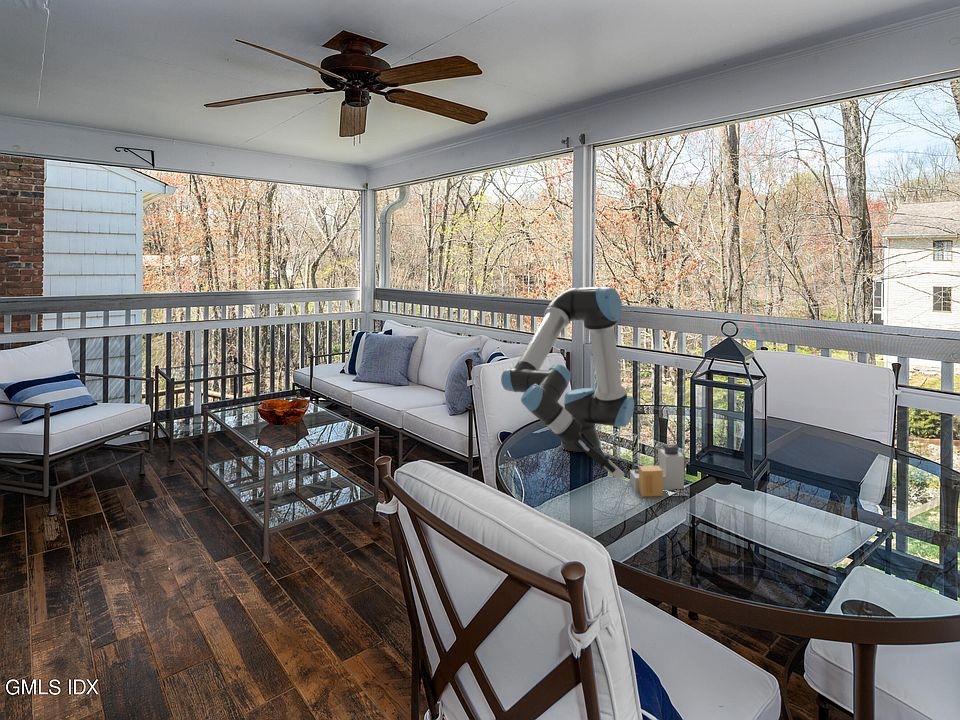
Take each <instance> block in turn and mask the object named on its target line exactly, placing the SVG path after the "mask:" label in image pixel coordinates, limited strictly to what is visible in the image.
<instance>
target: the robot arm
mask: <svg viewBox="0 0 960 720" xmlns="http://www.w3.org/2000/svg"><path fill="white" fill-rule="evenodd" d="M622 310H623V303H622V300H621V295H620V294H619V292H618V291H617V290H616V289H615V288H613V287H610V286H589V287H588V286H587V287H572V288H569V289H566V290H564V291H562V292H561V293H560V294H558V295H557V296H556V297H554V299H552V301H551V302H550V303H548V305H547V307H546V308H545V309H544V312H543V319H542V321H541V322H540V324H539V326H538V327H537V329H536V331H535V333H534V334H533V336H532V338H531V339H530V341H529V343H528V344H527V346H526V348H525V350H524V351H523V353H522V354H521V356H520V358H519V360H518V361H517V362H516V365H515V366H514V368H513V367H509V368H506V369H504V370H503V371H502V374H501V376H500V377H501V378H500V381H501V385H502V387H503V389H504V390H505V391H508V392H513V393H523V394H522V396H521V398H520V402H521V404H522V405H523V406H524V407H525V408H526V409H527V410H528V412H530V413H532V415H533V416H534V417H536V418H537V419H538V420H539V421H541V422H542V423H543V425H545V426H546V427H547V431H550V430H551V431H552V432H553V433H554V434H555V435H556V434H557V437H558V438H559V439H560V440H561V441H560V443H561V445H560V446H562V447H563V448H564V449H566V450H568V451H567V452H569V451H573V452H572V453H575V452H585V455H587V456H588V457H590V458H591V459H592V461H593V460H594V462H596V463H597V464H598V465H599V466H600V469H603V468H604V469H605V470H606V471H607V472H608V473H609V474H610V475H611V476H613V477H614V478H615V479H616V480H617V481H618V482H619V481H620V480H621V479H622V478H623V477H624V476H625V473H624V471H622V470H621V469H620V468H619V467H618V466H617V465H616V464H615V463H613V462H612V461H611V460H610V459H609V458H610V456H609V455H608V454H607V455H605V453H603V452H602V451H601V450H600V448H601V440H600V437H599V435H598V432H597V429H596V425H604V426H612V427H621V428H624V427H626V426H628V425H629V424H630V422H631V420H632V418H633V414H634V411H635V401H634V397H633V396H631V395H628V394H627V389H626V388H625V387H624V386H622V379H621V371H620V365H619V357H618V349H617V341H616V336H615V335H616V333H615V326H617V324H618V321H619V320H620V319H621V317H622V312H623V311H622ZM572 321H583V325H584V328H585V329H586V330H588V331H589V336H590V337H589V338H590V343H591V350H592V351H591V352H592V356H593V364H594V370H595V376H596V377H595V378H596V385H597V389H596V390H595V389H594V388H591V387H589V388H588V387H585V388H577V389H573V390H572V389H571V390H568V391H566V390H567V388H568V386H569V383H570V381H571V379H572V375H571V372H570V370H569V369H568V368H567V367H566V366H564V365H562V364H558V363H557V364H556V363H555V364H554V365H552V366H550V367H549V368H548V370H541V368H542V366H543V364H544V362H545V360H546V359H547V357H548V355H549V353H550V352H551V350H552V348H553V346H554V345H555V343H556V341H557V339H558V337H559V336H560V334H561V332H562V331H563V329H565V328H566V327H568V325H569V324H570V323H571V322H572ZM565 391H566V393H565ZM564 393H565V394H564ZM563 394H564V401H563V402H564V403H563V404H564V406H562V405H561V404H560V403H559V400H560V398H561V397H562V396H563ZM562 447H561V448H562ZM566 450H565V451H566Z"/></svg>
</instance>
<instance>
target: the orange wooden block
mask: <svg viewBox="0 0 960 720" xmlns="http://www.w3.org/2000/svg"><path fill="white" fill-rule="evenodd" d="M638 469H639V491H640V493H641V495H642V496H643V497H644V496H663V470H662V469H661V468H660V467H659V465H641V466H640V465H639V466H638Z"/></svg>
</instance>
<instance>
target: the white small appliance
mask: <svg viewBox="0 0 960 720" xmlns="http://www.w3.org/2000/svg"><path fill="white" fill-rule="evenodd" d="M680 452H681V451H680V450H679V446H678V445H677V444H676V445H675V444H665V445H664V448H663V449H661V448H660V449H659V450H658V466H659V467H660V468H661V469H662V470H663V490H672V489H682V488H684V489H685V471H684V456H683V455H682V454H681V453H680ZM629 485H630V486H631V487H632V489H633V490H634V492H635V494H636V495H637V497H638V498H639V499H653V498H655V499H657V498H669V497H668V496H669V495H668V492H667V491H663V496H644V497H643V496H642V495H641V493H640V491H639V468H638V469H637V468H636V469H629ZM666 492H667V493H666Z"/></svg>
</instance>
